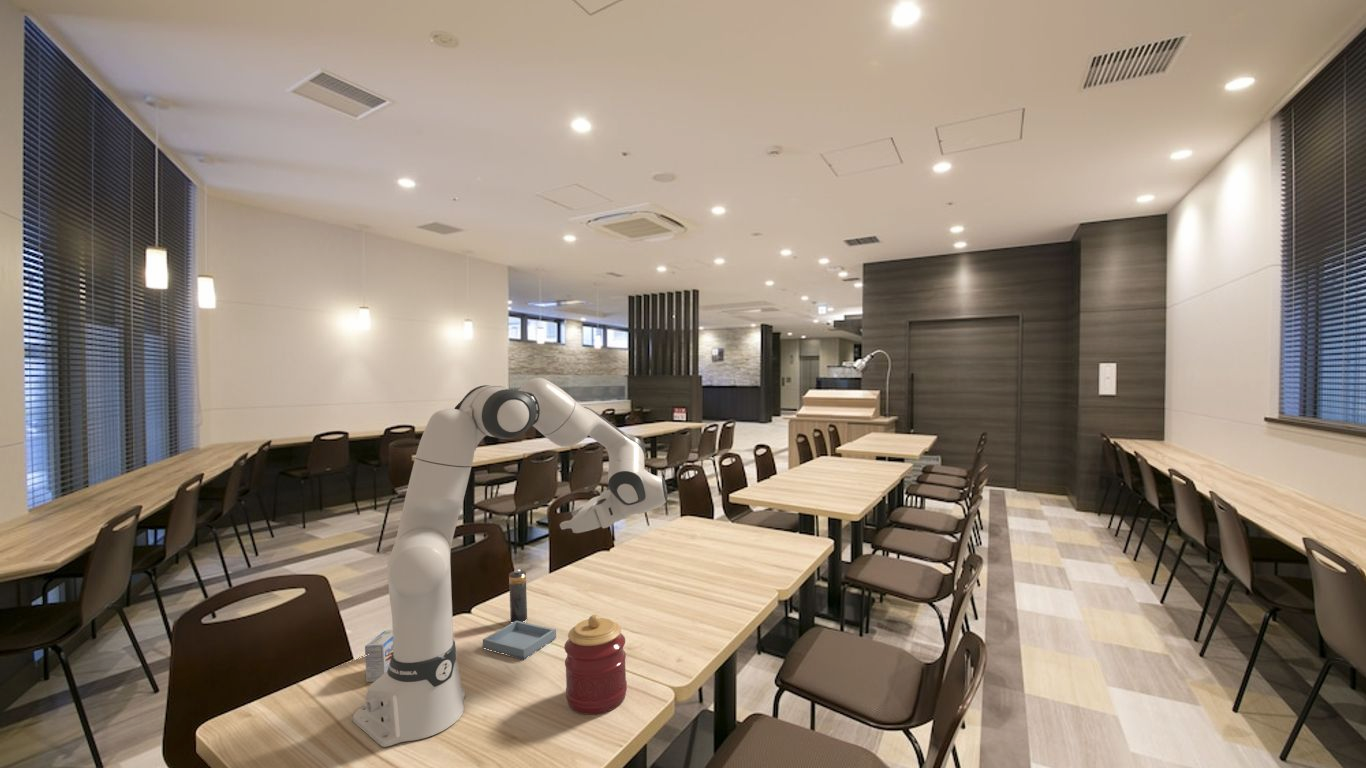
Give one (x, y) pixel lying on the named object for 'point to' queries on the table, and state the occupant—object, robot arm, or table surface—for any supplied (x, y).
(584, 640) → the canister
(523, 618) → the battery cell
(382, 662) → the medicine box
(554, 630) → the tray
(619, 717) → the table surface
